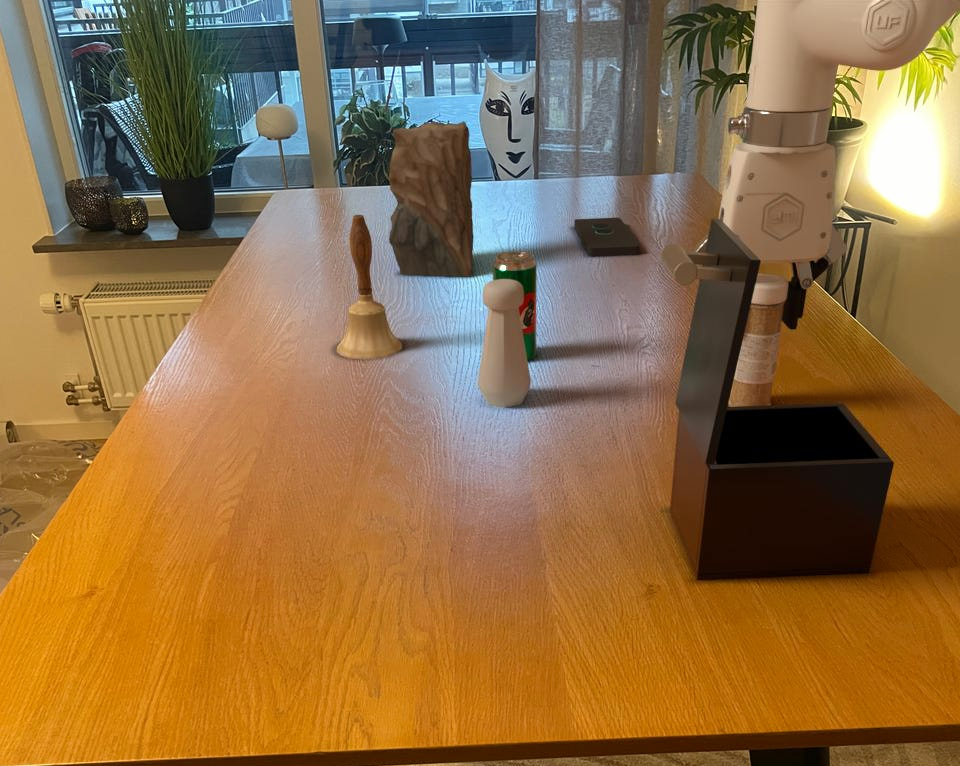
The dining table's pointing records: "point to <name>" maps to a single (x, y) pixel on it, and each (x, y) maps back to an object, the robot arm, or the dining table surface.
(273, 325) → the dining table surface
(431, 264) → the owl
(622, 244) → the smart home device
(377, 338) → the hand bell
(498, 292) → the salt shaker
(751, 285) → the lid
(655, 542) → the dining table surface
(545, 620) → the dining table surface
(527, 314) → the soda can
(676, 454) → the box
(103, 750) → the dining table surface
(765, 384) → the sprinkles bottle
